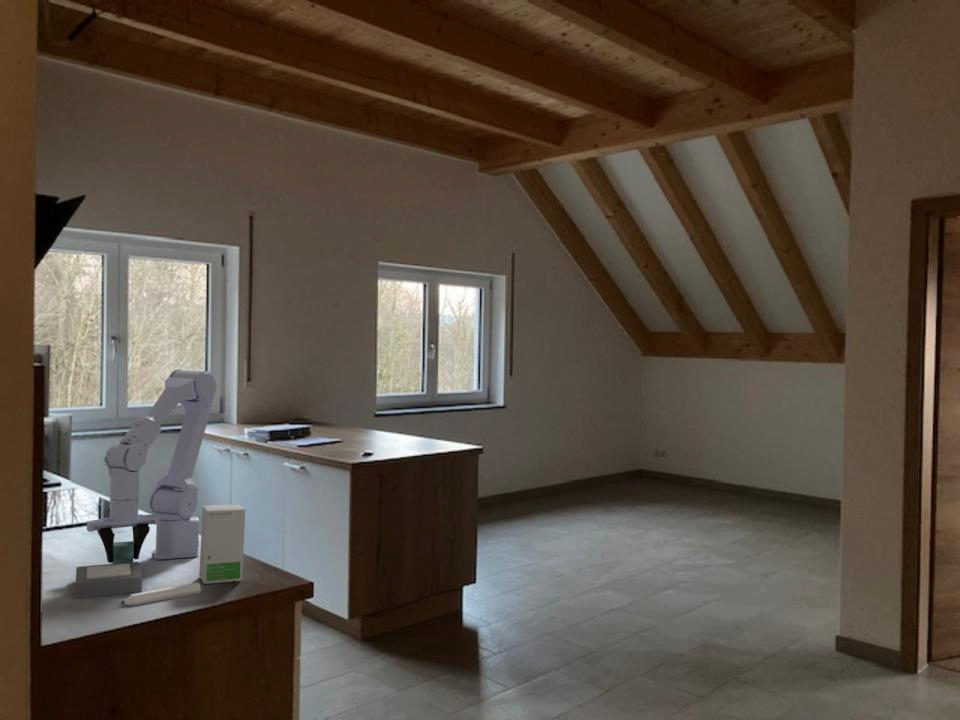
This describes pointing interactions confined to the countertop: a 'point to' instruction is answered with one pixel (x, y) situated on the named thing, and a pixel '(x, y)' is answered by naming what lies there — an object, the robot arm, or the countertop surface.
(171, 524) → the robot arm
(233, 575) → the skincare box
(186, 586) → the marker
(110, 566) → the charcoal plinth
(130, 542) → the teal block
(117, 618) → the countertop surface
